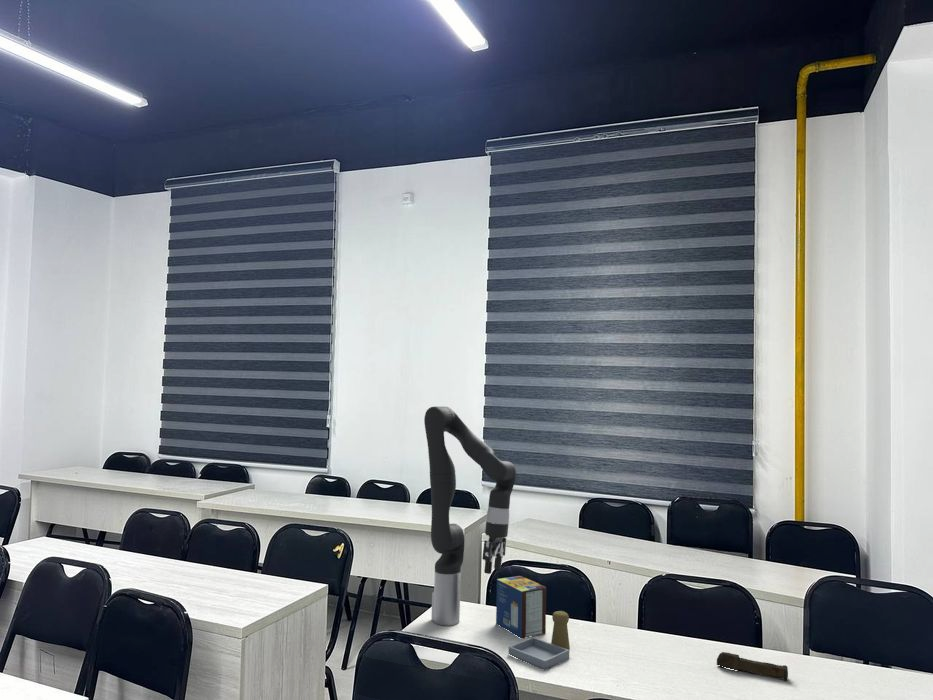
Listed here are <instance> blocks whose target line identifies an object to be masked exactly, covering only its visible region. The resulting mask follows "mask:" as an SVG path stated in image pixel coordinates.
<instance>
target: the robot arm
mask: <svg viewBox="0 0 933 700" xmlns="http://www.w3.org/2000/svg"><path fill="white" fill-rule="evenodd" d="M423 422H424V428H425V429H424V430H425V436H426V443H427V449H428V453H427V454H428V460H429V461H428V462H429V465H428V466H429V482H430V485H429V486H430V495H431V496H430V497H431V499H430V500H431V527H430V540H431V541H430V542H431V544H432V548H433V550H434V551H435V552H436V553H438V554H441V555H440V557H439V558H438V560H436V561H435V562H434V563H435V564H434V583H433V585H434V588H433V589H434V591H432V593H431V618H430V619H431V621H433V622H434V624H436V625H439V626H454V625H457V624H459V623H460V614H461V613H460V611H461V609H460V608H461V579H462V578H461V577H462V576H461V572H462V571H461V569H462V565H463V563H464V557H465V555H464V554H465V553H464V552H465V533H464V530H463V528H462V527H461V526H460V525H459V524H457V523H450V510H451V509H450V508H451V506H452V502H453V499H454V496H455V493H456V490H457V489H456V488H457V477H456V475H457V474H456V469H455V464H454V462H453V460H452V457H451V456H450V454H449V451H448V450H447V447H446V442H445V432H446V433H448V434H450V435H452V436H453V437H454V438H455V439H457V440H458V442H459V443H460V446H461V447H462V449H463V451H464V452H465V454H467V456H468V457H469V458H470V459H472V460H473V461H474V462H475V463H476V464H477V465H478V466H479V467H480V468H481V470H482V471H483V472H484V474H485V475H486V476H487V477H488V478H489V479H490V480H492V481H494V482H495V487H494V488H493V489H491V490H490V492H489V499H488V505H487V506H488V507H487V512H486V520H485V530H484V534H485V535H486V536H488V540H484V543H483V551H482V558H481V559H482V560H483V561H484V569H483V570H484V573H485V574H489V575H491V574H492V570H493V569H494V570H497V571H500V570H501V568H502V563H503V562H502V560H503V558H504V556H506V550H507V549H506V547H507V545H506V544H507V537H508V535H509V534H508V533H509V524H510V523H509V522H510V504H511V496H512V495H511V494H512V491H513V489H514V485H515V482H516V479H517V478H516V477H517V471H516V469H517V468H516V466H515V465H514V464H513V463H512V462H510V461H508V460H507V461H506V460H500V459H499V458H498V457H497V456H496V453H495V451H494V450H493V449H492V448H491V446H489V445H488V444H486V443H485V442H484V441H483V440H481V439H480V438H479V437H478V436H477V435H476V434H475V433H474V432H473V431H472V430H471V428H469V427H468V426H467V425H466V423H465V422H464V421H463V420H462V419H461V417H460V416H459V415H458V414H457V413H456V412H455V411H454V410H453V408H451V407H448V406H430V407H429V408H428V409H426V411H425V413H424V421H423ZM493 560H494V563H493ZM493 564H494V565H493ZM492 568H493V569H492Z"/></svg>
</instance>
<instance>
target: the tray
mask: <svg viewBox="0 0 933 700" xmlns="http://www.w3.org/2000/svg"><path fill="white" fill-rule="evenodd" d="M508 654H510V655H512V656H514V657H516V658H518V659H520V660H522V661H521V662H523V661H525V662H527V663H526V664H528V663H529V664H528V665H530V664H531V665H530V666H532V667H535V668H538V669H540V670H543V671H548V670H549V669H551V668H554V667H555V666H558V665H560V664H562V663H564V662H566V661H568V660H570V650H568V649H565V648H562V647H559V646H557V645H554V644H551V642H548V641H546V640H543V639H540V638H537V637H536V636H532V637H528V638H526V639H524V640H522V641H521V642H517V643H514V644H512V645H510V646H508ZM518 659H517V660H518ZM520 660H519V661H520ZM525 662H524V663H525Z"/></svg>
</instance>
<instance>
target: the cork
mask: <svg viewBox="0 0 933 700" xmlns="http://www.w3.org/2000/svg"><path fill="white" fill-rule="evenodd" d="M569 620H570V617H569V613H567V611H566V612H565V611H564V610H558V611H554V612H553V613H552V622H553V628H552V634H551V642H550V643H551V644H554V645H557V646H559V647H562V648H565V649H568V650H569V651H570V650H571V646H570V638H569V630H568V623H569Z"/></svg>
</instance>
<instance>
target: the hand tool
mask: <svg viewBox="0 0 933 700" xmlns="http://www.w3.org/2000/svg"><path fill="white" fill-rule="evenodd" d="M717 665H720V666H723V667H726V668H730V669H734V670H742V671H741V672H748V673H751V674H753V673H754V674H757V675H761V674H762V676H767V677H771V678H775V679H780V680H784V681H785V680H786V681H787V682H788V679H789V669H788V666H787V665H786V664H785V665H779V664H774V663H770V662H762V661H758V660H752V659H748V658H743V657H740V655H739V654H736V653H730V652H726V651H722V652H720V653H719V654H718V656H717V658H716V666H717ZM786 681H785V682H786Z"/></svg>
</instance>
